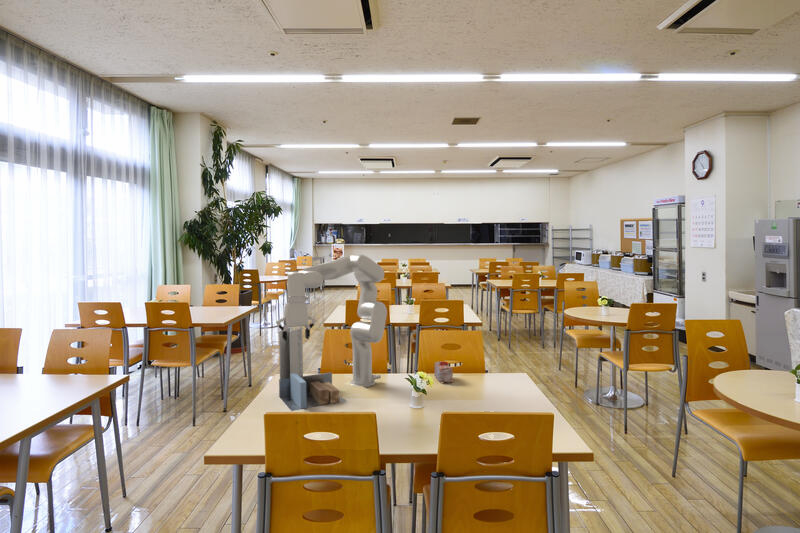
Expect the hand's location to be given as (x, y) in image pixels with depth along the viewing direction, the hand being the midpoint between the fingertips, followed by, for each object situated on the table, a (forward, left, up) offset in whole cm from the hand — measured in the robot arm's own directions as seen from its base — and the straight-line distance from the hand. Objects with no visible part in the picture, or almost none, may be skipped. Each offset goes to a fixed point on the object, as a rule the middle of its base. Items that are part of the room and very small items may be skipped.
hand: (296, 339), depth 207 cm
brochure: (-4, -22, -29) cm, 37 cm away
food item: (-77, -2, -29) cm, 83 cm away
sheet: (-1, 0, -28) cm, 28 cm away
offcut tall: (-10, 0, -28) cm, 30 cm away
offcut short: (-15, 0, -28) cm, 32 cm away
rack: (-8, -1, -29) cm, 30 cm away
